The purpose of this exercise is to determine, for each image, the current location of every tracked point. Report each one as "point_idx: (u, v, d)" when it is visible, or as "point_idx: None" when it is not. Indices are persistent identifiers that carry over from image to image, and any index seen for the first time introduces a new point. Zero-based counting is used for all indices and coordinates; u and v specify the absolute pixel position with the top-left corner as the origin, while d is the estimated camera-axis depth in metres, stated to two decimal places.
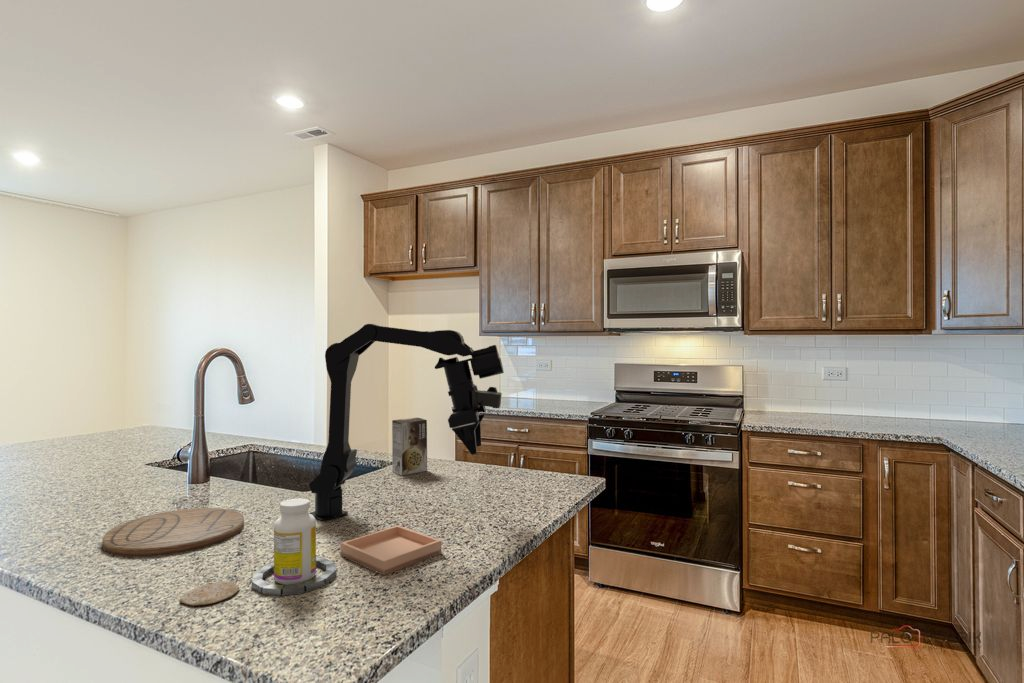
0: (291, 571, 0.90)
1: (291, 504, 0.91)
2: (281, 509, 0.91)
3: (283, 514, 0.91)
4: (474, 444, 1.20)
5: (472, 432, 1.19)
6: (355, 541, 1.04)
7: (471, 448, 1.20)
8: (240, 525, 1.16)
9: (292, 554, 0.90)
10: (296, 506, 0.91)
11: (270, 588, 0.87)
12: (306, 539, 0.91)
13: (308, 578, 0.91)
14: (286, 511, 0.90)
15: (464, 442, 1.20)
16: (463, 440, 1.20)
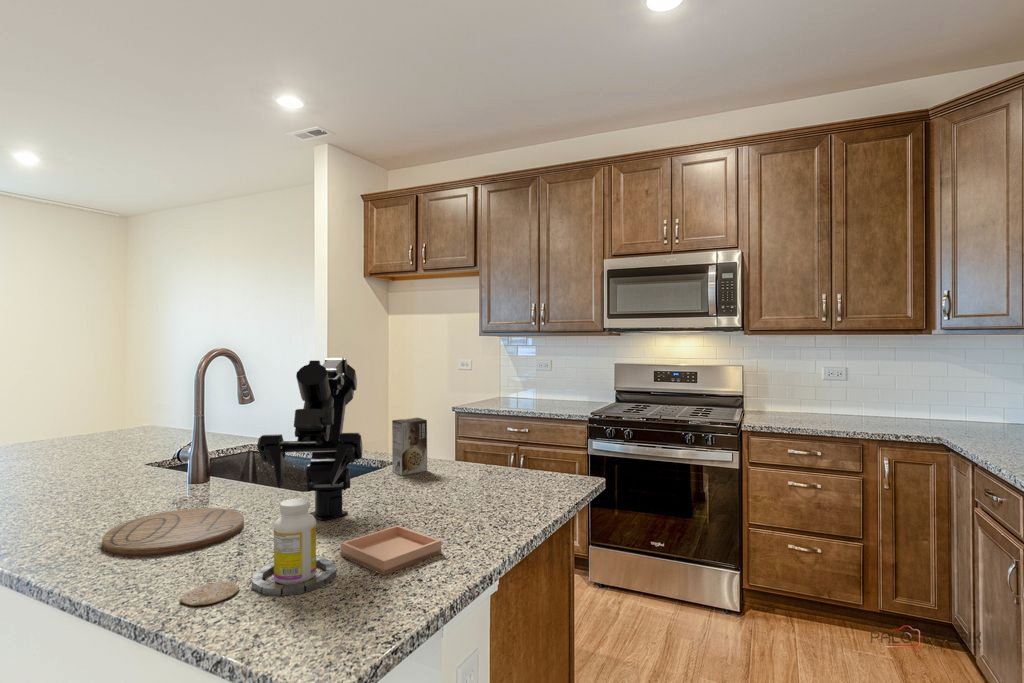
0: (291, 571, 0.90)
1: (291, 504, 0.91)
2: (281, 509, 0.91)
3: (283, 514, 0.91)
4: None
5: None
6: (355, 541, 1.04)
7: None
8: (240, 525, 1.16)
9: (292, 554, 0.90)
10: (296, 506, 0.91)
11: (270, 588, 0.87)
12: (306, 539, 0.91)
13: (308, 578, 0.91)
14: (286, 511, 0.91)
15: None
16: None
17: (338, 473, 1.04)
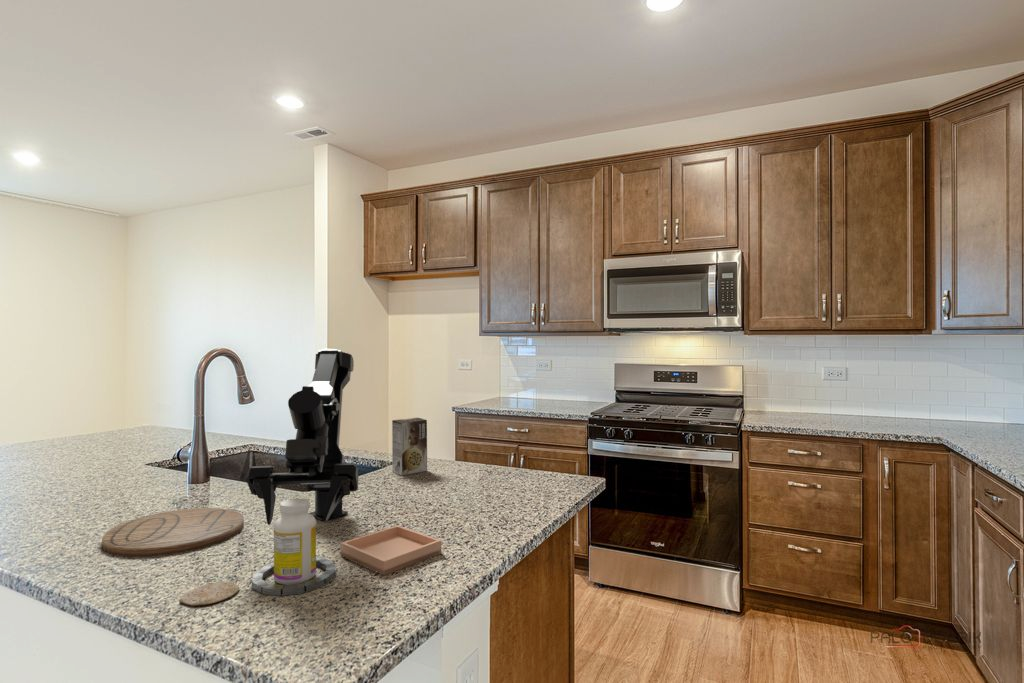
0: (291, 571, 0.90)
1: (291, 504, 0.91)
2: (281, 509, 0.91)
3: (283, 514, 0.91)
4: (265, 509, 0.94)
5: None
6: (355, 541, 1.04)
7: None
8: (240, 525, 1.16)
9: (292, 554, 0.90)
10: (296, 506, 0.91)
11: (270, 588, 0.87)
12: (306, 539, 0.91)
13: (308, 578, 0.91)
14: (286, 511, 0.90)
15: None
16: None
17: (332, 507, 0.97)
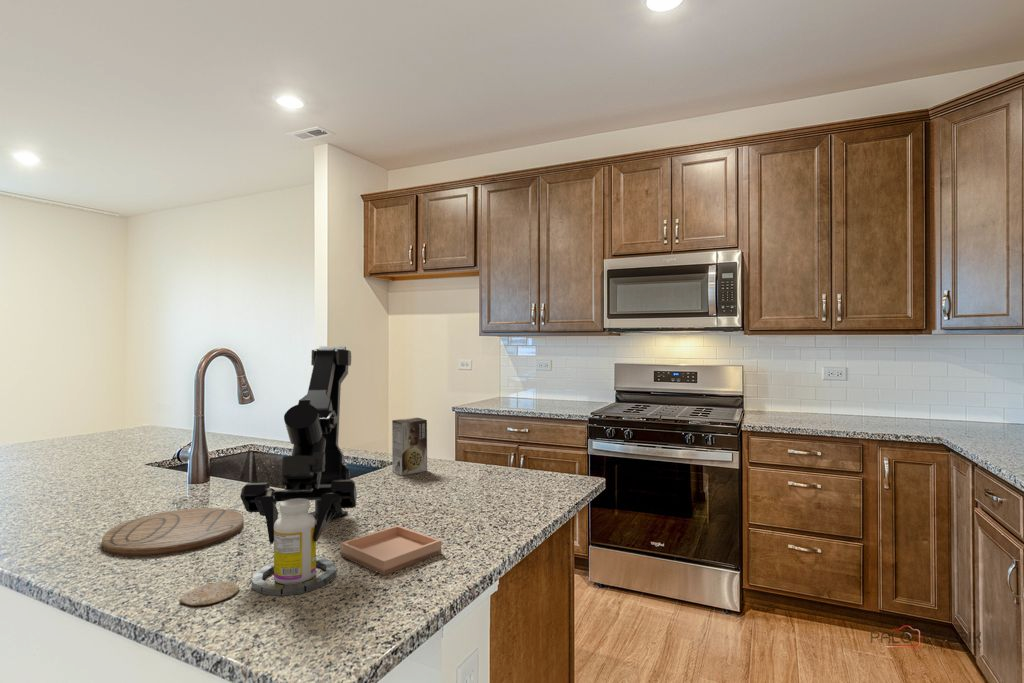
0: (291, 571, 0.90)
1: (291, 504, 0.91)
2: (281, 509, 0.91)
3: (283, 514, 0.91)
4: (267, 528, 0.92)
5: None
6: (355, 541, 1.04)
7: None
8: (240, 525, 1.16)
9: (292, 554, 0.90)
10: (296, 506, 0.91)
11: (270, 588, 0.87)
12: (306, 539, 0.91)
13: (308, 578, 0.91)
14: (286, 511, 0.90)
15: None
16: None
17: (323, 526, 0.94)
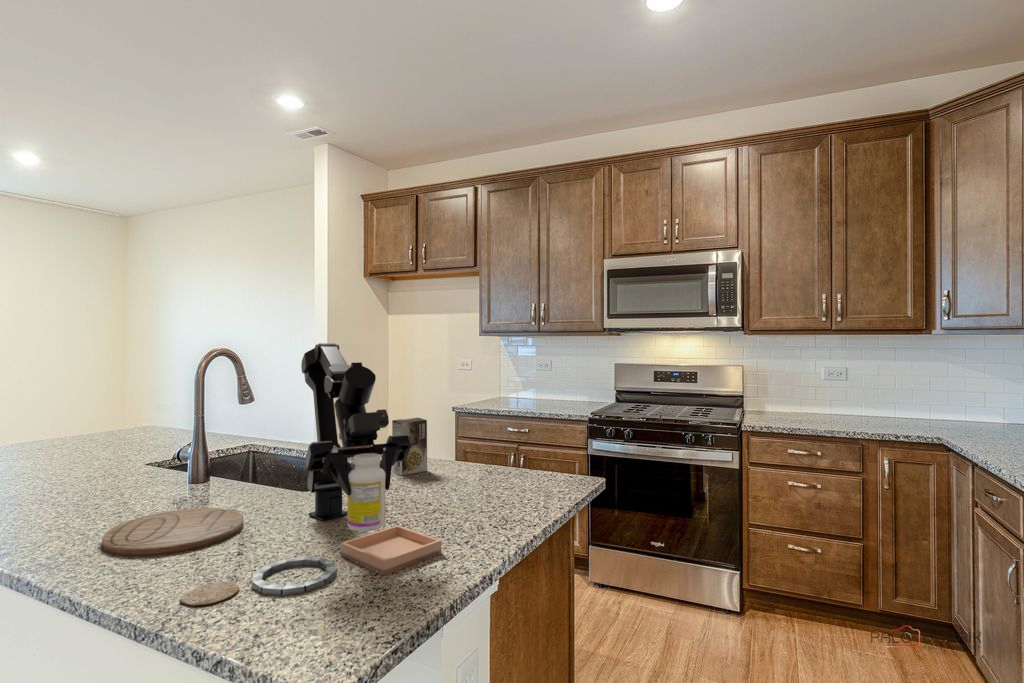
0: (372, 518, 0.97)
1: (367, 457, 0.98)
2: (359, 462, 0.97)
3: (361, 467, 0.97)
4: (343, 481, 0.97)
5: None
6: (355, 541, 1.04)
7: (344, 488, 0.97)
8: (240, 525, 1.16)
9: (373, 502, 0.97)
10: (374, 458, 0.98)
11: (270, 588, 0.87)
12: (383, 488, 0.99)
13: (383, 524, 0.99)
14: (365, 463, 0.97)
15: (338, 483, 0.99)
16: (337, 481, 0.99)
17: None
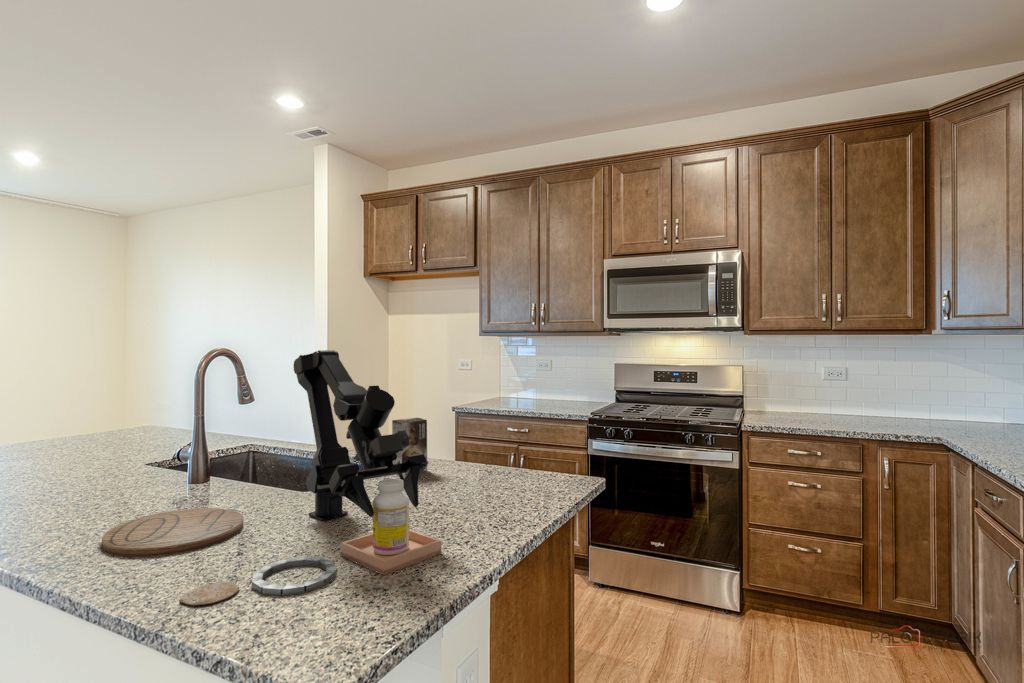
0: (400, 541, 1.01)
1: (393, 483, 1.02)
2: (385, 488, 1.01)
3: (387, 493, 1.01)
4: (365, 503, 0.99)
5: (357, 490, 1.00)
6: (355, 541, 1.04)
7: (366, 509, 1.00)
8: (239, 525, 1.16)
9: (401, 526, 1.01)
10: (399, 484, 1.02)
11: (270, 588, 0.87)
12: (407, 512, 1.03)
13: (408, 546, 1.03)
14: (392, 489, 1.01)
15: (359, 505, 1.01)
16: (357, 503, 1.01)
17: None
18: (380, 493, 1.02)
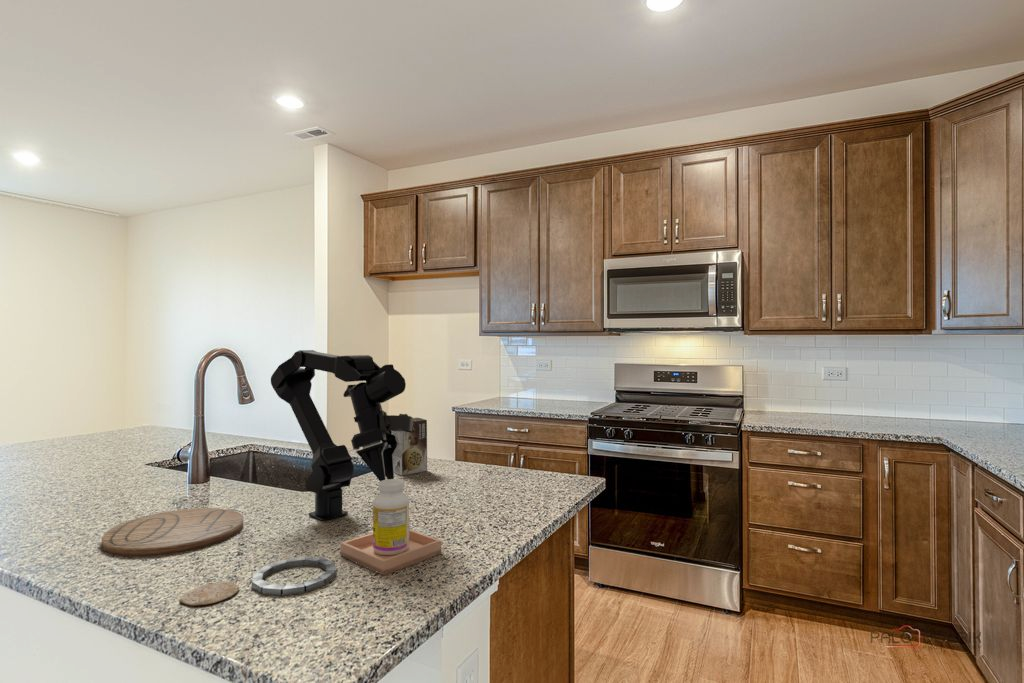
0: (400, 541, 1.01)
1: (393, 483, 1.02)
2: (386, 489, 1.01)
3: (387, 493, 1.01)
4: (382, 468, 1.11)
5: (379, 455, 1.10)
6: (355, 541, 1.04)
7: (379, 473, 1.11)
8: (239, 525, 1.16)
9: (401, 526, 1.01)
10: (400, 484, 1.02)
11: (270, 588, 0.87)
12: (408, 512, 1.03)
13: (408, 546, 1.03)
14: (392, 489, 1.01)
15: (371, 467, 1.10)
16: (370, 465, 1.10)
17: None
18: (380, 493, 1.02)
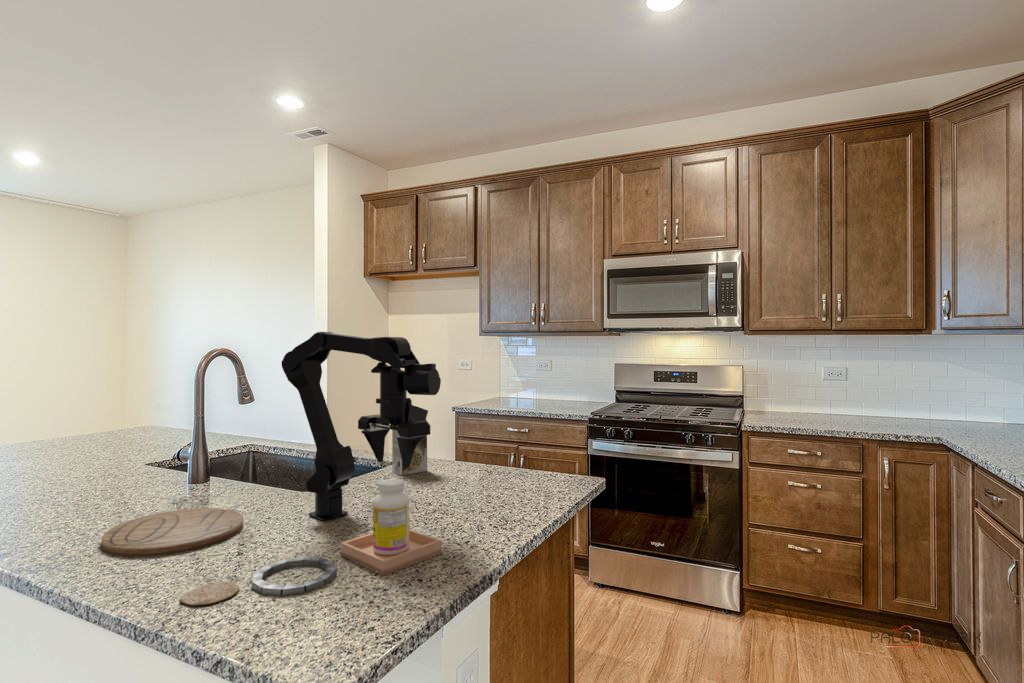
0: (400, 541, 1.01)
1: (393, 483, 1.02)
2: (386, 488, 1.01)
3: (388, 493, 1.01)
4: (411, 457, 1.18)
5: (415, 444, 1.17)
6: (355, 541, 1.04)
7: (407, 461, 1.17)
8: (239, 525, 1.16)
9: (401, 526, 1.01)
10: (400, 484, 1.02)
11: (270, 588, 0.87)
12: (408, 512, 1.03)
13: (408, 546, 1.03)
14: (392, 489, 1.01)
15: (404, 454, 1.16)
16: (405, 452, 1.16)
17: None
18: (380, 493, 1.02)
